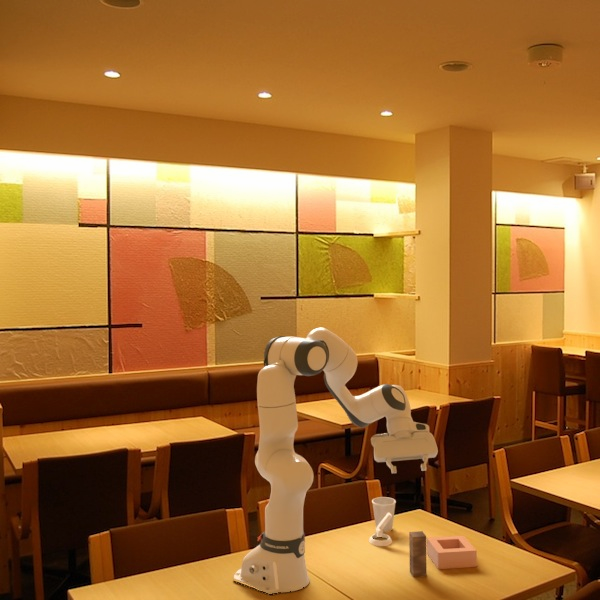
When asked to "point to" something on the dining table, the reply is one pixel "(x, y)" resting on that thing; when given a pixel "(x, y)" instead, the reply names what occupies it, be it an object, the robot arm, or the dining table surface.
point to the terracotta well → (451, 552)
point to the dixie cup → (383, 511)
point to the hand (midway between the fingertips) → (409, 471)
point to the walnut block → (417, 553)
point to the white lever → (381, 533)
